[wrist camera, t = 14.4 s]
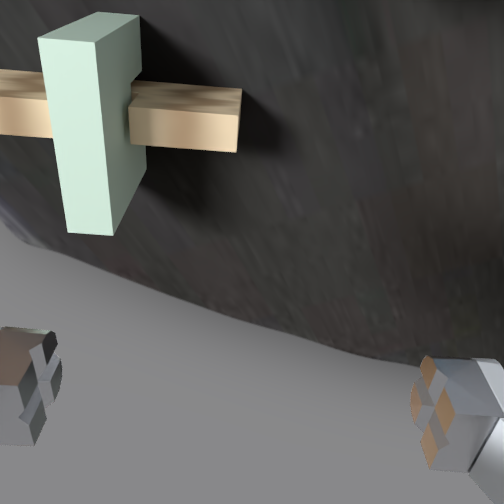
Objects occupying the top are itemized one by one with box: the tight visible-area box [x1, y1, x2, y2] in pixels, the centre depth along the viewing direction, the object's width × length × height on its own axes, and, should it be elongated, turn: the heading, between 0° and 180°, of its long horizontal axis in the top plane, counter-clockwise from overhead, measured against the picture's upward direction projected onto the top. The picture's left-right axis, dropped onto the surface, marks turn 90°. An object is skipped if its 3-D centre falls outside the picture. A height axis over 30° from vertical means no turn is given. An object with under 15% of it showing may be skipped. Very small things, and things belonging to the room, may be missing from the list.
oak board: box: [0, 69, 242, 152], centre depth 41 cm, size 22×3×8 cm, turn 86°
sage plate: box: [38, 12, 147, 236], centre depth 39 cm, size 4×14×13 cm, turn 176°
